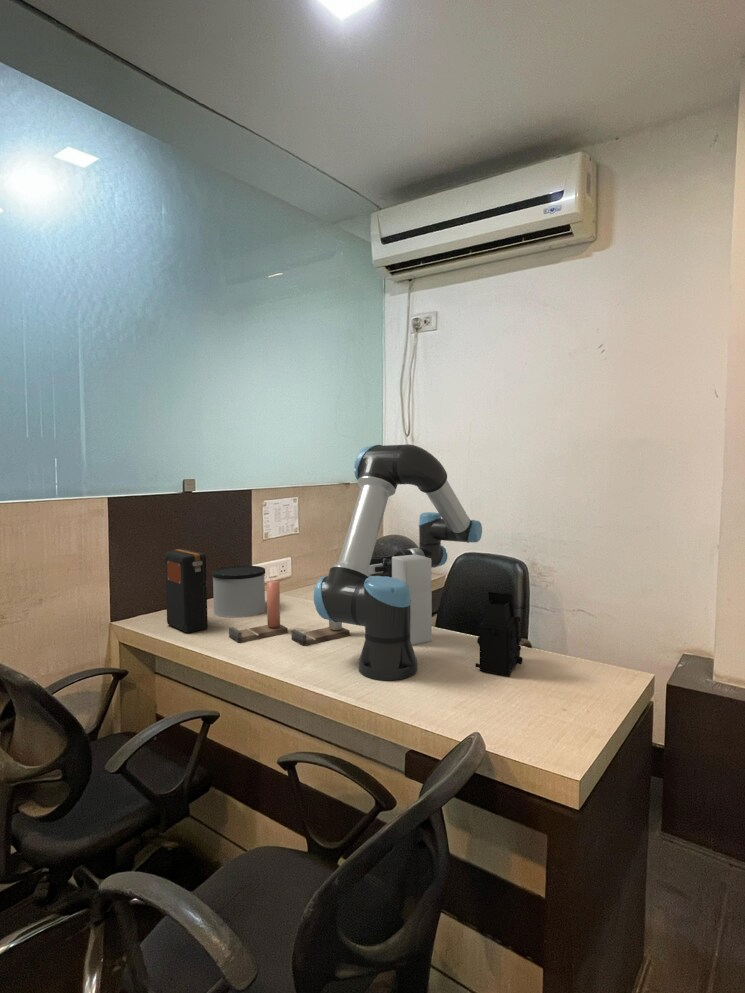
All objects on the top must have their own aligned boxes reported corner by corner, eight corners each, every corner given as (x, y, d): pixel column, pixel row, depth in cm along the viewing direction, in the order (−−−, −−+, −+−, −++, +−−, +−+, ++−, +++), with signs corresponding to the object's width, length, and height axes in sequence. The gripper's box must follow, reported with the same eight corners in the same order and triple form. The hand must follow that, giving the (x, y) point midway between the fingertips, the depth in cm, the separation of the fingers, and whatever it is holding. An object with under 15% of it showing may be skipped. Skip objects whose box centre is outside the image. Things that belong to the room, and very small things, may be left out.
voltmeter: (211, 629, 178) (209, 552, 177) (186, 635, 172) (183, 556, 171) (188, 619, 189) (186, 547, 188) (163, 625, 183) (161, 550, 182)
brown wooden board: (335, 629, 177) (335, 619, 177) (351, 636, 170) (351, 626, 170) (290, 639, 168) (289, 629, 167) (304, 646, 160) (304, 636, 160)
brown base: (276, 626, 180) (276, 617, 180) (289, 633, 173) (288, 624, 173) (227, 636, 171) (227, 626, 171) (239, 643, 164) (239, 633, 163)
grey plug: (337, 625, 175) (337, 581, 174) (344, 628, 171) (343, 583, 171) (326, 627, 172) (326, 583, 171) (333, 630, 169) (332, 585, 168)
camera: (527, 661, 147) (528, 587, 146) (512, 679, 135) (513, 598, 134) (491, 655, 152) (491, 583, 151) (473, 671, 140) (474, 593, 139)
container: (231, 621, 188) (230, 577, 187) (202, 611, 201) (201, 570, 200) (276, 610, 201) (275, 569, 200) (247, 601, 214) (246, 563, 213)
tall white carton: (391, 637, 168) (391, 556, 167) (416, 633, 172) (416, 554, 171) (406, 646, 160) (406, 561, 159) (432, 641, 164) (431, 558, 163)
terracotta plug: (276, 622, 178) (276, 580, 177) (282, 625, 175) (281, 582, 174) (265, 625, 175) (264, 581, 175) (270, 628, 172) (270, 583, 171)
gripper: (431, 576, 179) (377, 585, 166) (388, 566, 198) (336, 573, 185) (431, 553, 179) (376, 561, 166) (388, 545, 197) (335, 551, 184)
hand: (355, 567), depth 175 cm, fingers open, 10 cm apart
